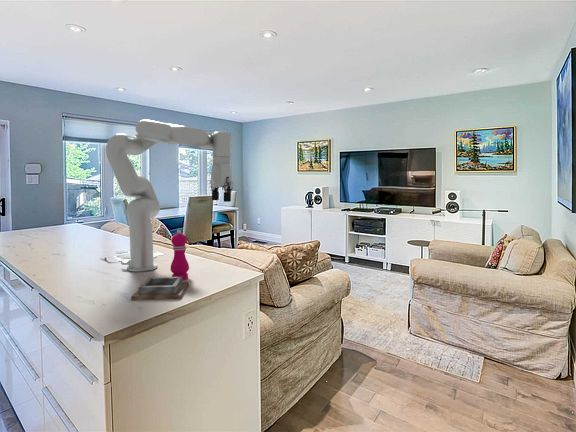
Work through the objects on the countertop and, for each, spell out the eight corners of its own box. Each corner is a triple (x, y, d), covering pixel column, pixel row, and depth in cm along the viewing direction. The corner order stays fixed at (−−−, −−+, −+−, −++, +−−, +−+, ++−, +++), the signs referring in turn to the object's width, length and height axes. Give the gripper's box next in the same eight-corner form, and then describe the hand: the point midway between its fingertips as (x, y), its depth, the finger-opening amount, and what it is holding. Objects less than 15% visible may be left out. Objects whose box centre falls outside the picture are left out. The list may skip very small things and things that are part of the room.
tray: (168, 257, 185) (168, 250, 184) (112, 268, 165) (112, 260, 165) (151, 251, 199) (150, 245, 199) (98, 261, 179) (97, 254, 179)
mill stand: (131, 300, 116) (130, 289, 116) (145, 285, 132) (145, 276, 131) (180, 298, 118) (180, 288, 117) (188, 284, 133) (188, 275, 133)
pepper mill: (183, 281, 138) (182, 231, 136) (167, 280, 139) (165, 230, 137) (192, 276, 145) (191, 228, 143) (176, 275, 146) (175, 228, 144)
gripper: (203, 161, 154) (203, 199, 156) (224, 160, 141) (224, 202, 143) (218, 162, 159) (218, 199, 161) (240, 161, 146) (239, 202, 148)
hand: (221, 200), depth 152 cm, fingers open, 9 cm apart
